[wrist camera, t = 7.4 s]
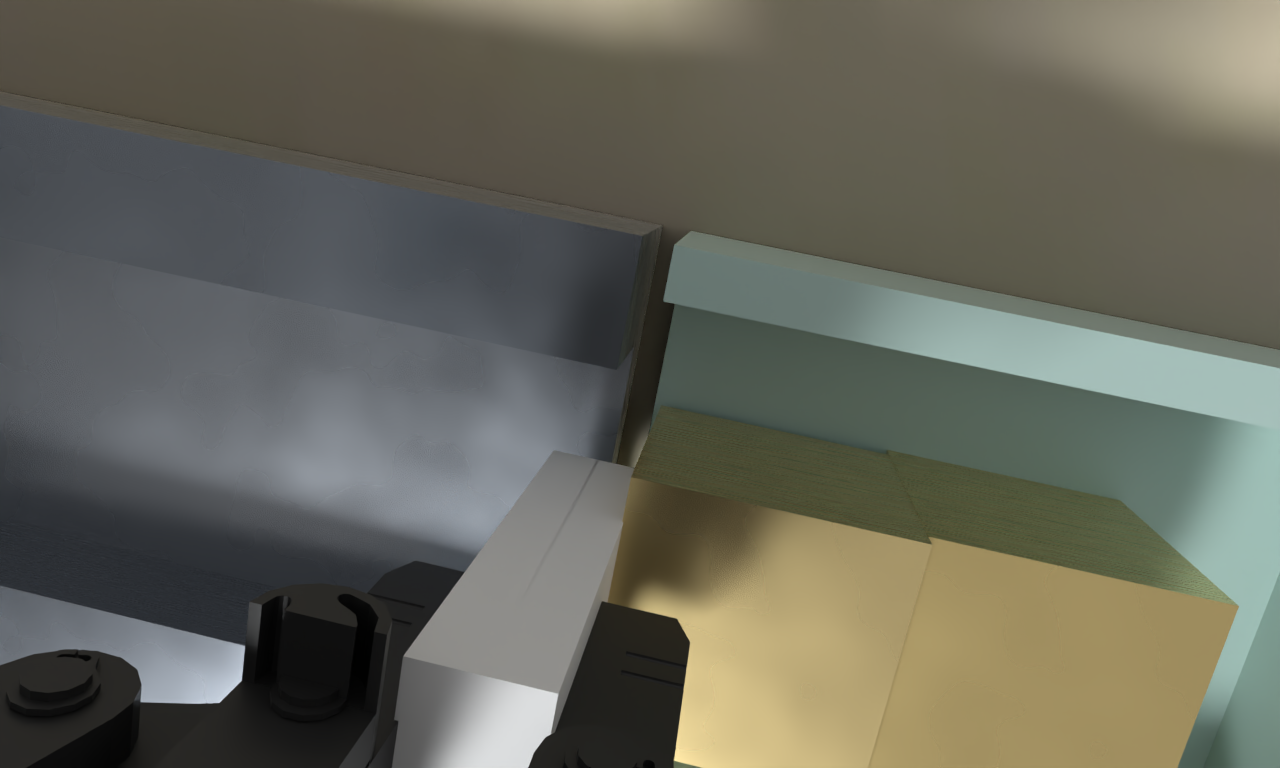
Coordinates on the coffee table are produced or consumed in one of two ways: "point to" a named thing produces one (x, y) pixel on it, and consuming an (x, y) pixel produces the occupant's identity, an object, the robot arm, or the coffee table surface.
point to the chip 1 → (772, 586)
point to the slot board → (273, 377)
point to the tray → (1012, 418)
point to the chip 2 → (1046, 631)
